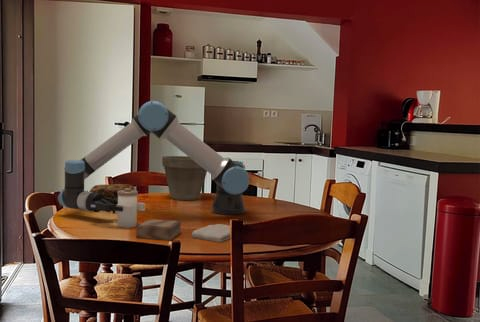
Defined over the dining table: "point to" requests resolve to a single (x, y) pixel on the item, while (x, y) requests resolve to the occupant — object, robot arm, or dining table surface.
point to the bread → (110, 189)
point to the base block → (158, 229)
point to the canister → (128, 199)
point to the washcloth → (213, 233)
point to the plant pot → (183, 177)
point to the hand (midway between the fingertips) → (137, 208)
